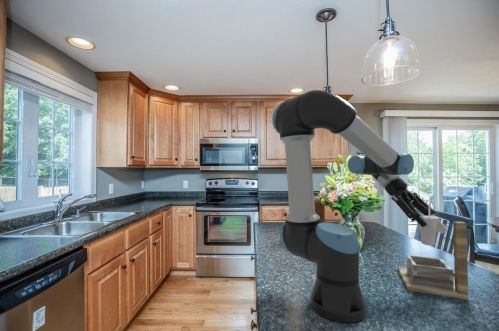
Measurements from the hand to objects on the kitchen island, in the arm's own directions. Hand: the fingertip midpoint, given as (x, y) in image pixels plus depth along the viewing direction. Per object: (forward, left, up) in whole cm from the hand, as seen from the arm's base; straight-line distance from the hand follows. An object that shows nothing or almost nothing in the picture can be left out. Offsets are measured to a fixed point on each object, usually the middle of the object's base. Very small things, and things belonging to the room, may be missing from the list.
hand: (439, 232), depth 84 cm
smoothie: (+2, +3, -5) cm, 6 cm away
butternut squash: (+47, +48, -19) cm, 70 cm away
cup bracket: (+2, +3, -19) cm, 19 cm away
